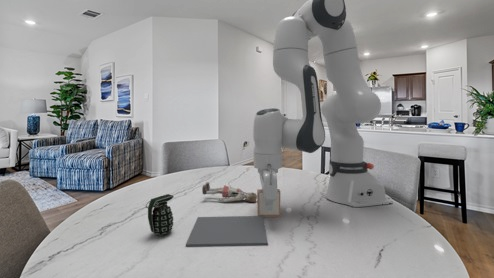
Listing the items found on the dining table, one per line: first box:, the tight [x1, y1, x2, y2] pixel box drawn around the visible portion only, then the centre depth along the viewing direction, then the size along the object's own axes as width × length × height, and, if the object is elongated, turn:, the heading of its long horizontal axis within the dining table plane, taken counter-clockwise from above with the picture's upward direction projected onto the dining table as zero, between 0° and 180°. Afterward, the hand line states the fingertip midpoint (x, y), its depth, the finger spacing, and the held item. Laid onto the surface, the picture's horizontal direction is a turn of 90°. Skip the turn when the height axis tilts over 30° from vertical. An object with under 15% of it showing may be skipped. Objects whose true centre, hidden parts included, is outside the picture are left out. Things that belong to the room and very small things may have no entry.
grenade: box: [145, 193, 174, 237], centre depth 67 cm, size 7×6×10 cm
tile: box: [256, 188, 281, 218], centre depth 79 cm, size 7×3×8 cm, turn 91°
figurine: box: [201, 181, 257, 204], centre depth 92 cm, size 6×6×20 cm
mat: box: [185, 215, 269, 248], centre depth 69 cm, size 20×16×1 cm
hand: (267, 204), depth 79 cm, fingers open, 7 cm apart
